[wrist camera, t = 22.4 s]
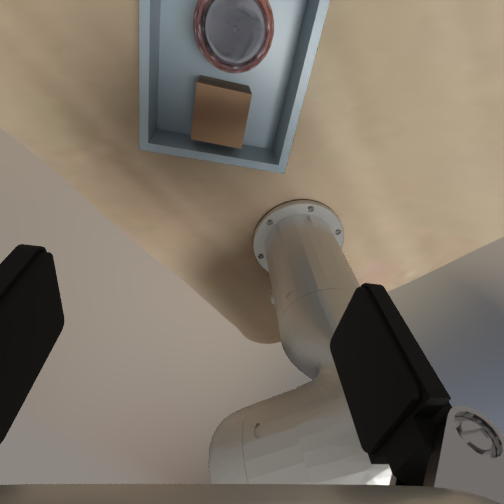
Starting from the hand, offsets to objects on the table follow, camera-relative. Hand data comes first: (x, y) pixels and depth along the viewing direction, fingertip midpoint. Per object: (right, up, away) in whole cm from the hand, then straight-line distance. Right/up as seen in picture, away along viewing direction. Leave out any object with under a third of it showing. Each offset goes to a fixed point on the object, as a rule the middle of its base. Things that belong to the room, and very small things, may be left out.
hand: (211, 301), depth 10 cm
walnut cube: (-2, +17, +24) cm, 30 cm away
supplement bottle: (-1, +23, +20) cm, 31 cm away
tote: (-1, +21, +22) cm, 31 cm away
